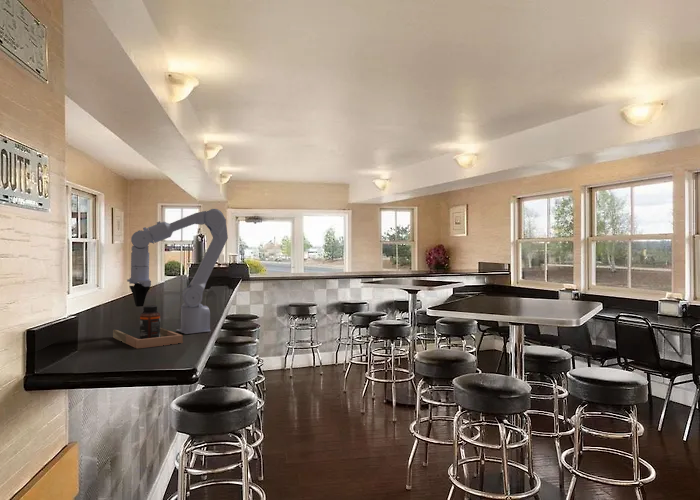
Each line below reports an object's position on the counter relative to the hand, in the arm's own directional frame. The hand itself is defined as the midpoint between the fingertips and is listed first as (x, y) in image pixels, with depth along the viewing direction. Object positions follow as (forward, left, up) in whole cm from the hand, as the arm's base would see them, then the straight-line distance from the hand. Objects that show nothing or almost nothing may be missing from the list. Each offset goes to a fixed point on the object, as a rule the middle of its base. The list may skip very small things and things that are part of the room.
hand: (139, 306), depth 174 cm
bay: (+2, +12, -9) cm, 15 cm away
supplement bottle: (+2, +15, -10) cm, 18 cm away
